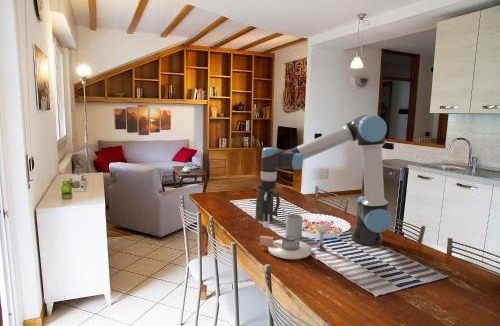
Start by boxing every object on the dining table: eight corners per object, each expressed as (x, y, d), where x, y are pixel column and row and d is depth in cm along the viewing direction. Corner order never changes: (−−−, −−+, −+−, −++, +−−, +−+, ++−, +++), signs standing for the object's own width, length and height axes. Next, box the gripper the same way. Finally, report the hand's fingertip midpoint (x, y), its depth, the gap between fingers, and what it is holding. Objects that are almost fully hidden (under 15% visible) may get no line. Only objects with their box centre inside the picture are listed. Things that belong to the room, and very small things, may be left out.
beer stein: (251, 219, 210) (254, 187, 206) (257, 214, 219) (260, 184, 216) (275, 225, 204) (279, 192, 201) (281, 219, 214) (284, 188, 211)
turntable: (312, 245, 169) (313, 235, 169) (309, 261, 150) (309, 250, 149) (264, 239, 175) (265, 229, 175) (255, 254, 156) (255, 244, 155)
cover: (300, 245, 165) (300, 235, 164) (298, 251, 157) (298, 240, 156) (283, 243, 167) (283, 233, 166) (280, 249, 159) (281, 238, 158)
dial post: (325, 248, 168) (327, 223, 166) (325, 251, 164) (327, 225, 162) (316, 247, 169) (318, 222, 167) (315, 250, 165) (317, 224, 163)
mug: (304, 238, 181) (305, 218, 179) (289, 240, 178) (290, 219, 176) (293, 230, 192) (294, 211, 190) (279, 232, 189) (280, 212, 187)
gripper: (263, 176, 175) (261, 222, 178) (257, 181, 162) (255, 230, 166) (278, 178, 173) (276, 223, 176) (273, 182, 160) (271, 232, 164)
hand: (266, 226), depth 171 cm, fingers closed
